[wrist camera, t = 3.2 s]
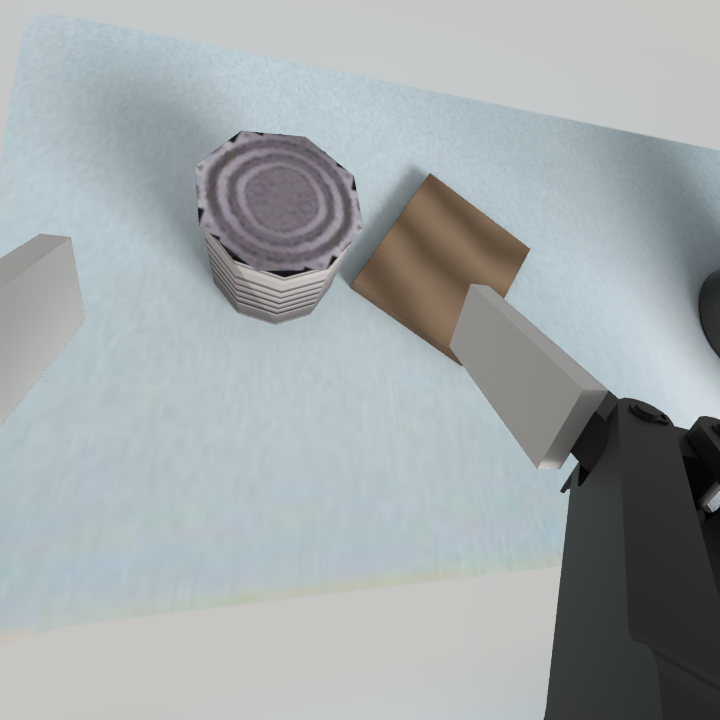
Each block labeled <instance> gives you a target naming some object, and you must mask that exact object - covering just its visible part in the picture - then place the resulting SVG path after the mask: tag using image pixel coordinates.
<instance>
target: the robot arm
mask: <svg viewBox="0 0 720 720" xmlns="http://www.w3.org/2000/svg"><path fill="white" fill-rule="evenodd" d="M700 315H701V320H702V324H703V327H704V330H705V333H706V335H707V337H708V339H709V341H710V343H711V345H712V346H713V348H714V349H715V351H716V352H717V354H718V355H719V356H720V270H718V271H716V272H714V273H712V274H711V275H710V276H709V277H708V278H707V280H706V281H705V283H704V285H703V287H702V290H701V295H700ZM85 321H86V318H85V312H84V307H83V301H82V296H81V290H80V285H79V279H78V274H77V268H76V263H75V257H74V252H73V246H72V241H71V237H64V236H56V235H47V234H39V235H38V236H36V237H34V238H33V239H31V240H30V241H28V242H26V243H25V244H23V245H21V246H20V247H18V248H17V249H15V250H13V251H12V252H10V253H9V254H7V255H5V256H4V257H2V258H0V428H1V427H2V425H3V424H4V423H5V422H6V420H7V419H8V418H9V417H10V415H11V414H12V413H13V412H14V410H15V409H16V408H17V407H18V405H19V404H20V403H21V402H22V400H23V399H24V398H25V397H26V395H27V394H28V393H29V392H30V390H31V389H32V388H33V387H34V385H35V384H36V383H37V382H38V380H39V379H40V378H41V377H42V375H43V374H44V373H45V372H46V370H47V369H48V368H49V367H50V365H51V364H52V363H53V362H54V360H55V359H56V358H57V356H58V355H59V354H60V353H61V351H62V350H63V349H64V348H65V346H66V345H67V344H68V343H69V341H70V340H71V339H72V338H73V336H74V335H75V334H76V333H77V331H78V330H79V329H80V328H81V326H82V325H83V324H84V323H85ZM449 347H450V348H451V350H452V351H453V353H454V354H455V355H456V357H457V358H458V359H459V361H460V362H461V364H462V365H463V366H464V368H465V369H466V371H467V372H468V373H469V375H470V376H471V378H472V379H473V380H474V382H475V383H476V385H477V386H478V387H479V389H480V390H481V392H482V393H483V394H484V396H485V397H486V399H487V400H488V401H489V403H490V404H491V406H492V407H493V408H494V410H495V411H496V412H497V414H498V415H499V417H500V418H501V419H502V421H503V422H504V424H505V425H506V426H507V428H508V429H509V431H510V432H511V433H512V435H513V436H514V438H515V439H516V440H517V442H518V443H519V445H520V446H521V447H522V449H523V450H524V452H525V453H526V454H527V456H528V457H529V458H530V460H531V461H532V463H533V464H534V465H535V467H536V468H537V469H560V468H561V467H562V465H563V464H564V462H565V460H566V459H567V457H568V456H569V454H570V452H571V453H572V454H573V455H574V457H575V458H576V459H577V460H578V461H579V462H578V464H577V465H576V467H575V468H574V470H573V472H572V473H571V475H570V476H569V478H568V479H567V481H566V482H565V484H564V485H563V487H562V489H561V491H560V492H562V493H565V491H566V490H567V489H570V497H569V506H568V515H567V524H566V533H565V542H564V551H563V560H562V570H561V578H560V587H559V596H558V605H557V614H556V624H555V633H554V641H553V650H552V659H551V668H550V678H549V686H548V695H547V704H546V711H545V717H544V720H720V507H719V508H718V509H717V510H716V511H714V512H712V511H711V510H710V508H709V507H708V505H707V504H708V503H709V502H710V500H711V499H712V498H713V497H714V496H715V495H716V494H717V493H718V492H719V491H720V420H719V419H717V418H713V417H708V416H702V417H699V418H698V420H697V421H696V422H695V423H694V425H693V426H692V427H691V428H690V430H687V429H683V428H679V427H675V426H674V425H673V423H672V421H671V420H670V419H669V418H668V416H667V415H665V414H664V413H663V412H661V411H660V410H658V409H656V408H655V407H653V406H651V405H650V404H647V403H645V402H642V401H639V400H636V399H631V398H622V399H618V398H617V397H616V396H615V395H613V394H612V393H611V392H610V391H609V390H608V389H607V388H606V387H604V386H603V385H602V384H601V383H600V382H599V381H598V380H596V379H595V378H594V377H593V376H592V375H591V374H590V373H588V372H587V371H586V370H585V369H584V368H583V367H582V366H580V365H579V364H578V363H577V362H576V361H575V360H573V359H572V358H571V357H570V356H569V355H568V354H567V353H565V352H564V351H563V350H562V349H561V348H560V347H559V346H557V345H556V344H555V343H554V342H553V341H552V340H550V339H549V338H548V337H547V336H546V335H545V334H544V333H542V332H541V331H540V330H539V329H538V328H537V327H536V326H534V325H533V324H532V323H531V322H530V321H529V320H528V319H526V318H525V317H524V316H523V315H522V314H521V313H519V312H518V311H517V310H516V309H515V308H514V307H513V306H511V305H510V304H509V303H508V302H507V301H506V300H505V299H503V298H502V297H501V296H500V295H499V294H498V293H496V292H495V291H494V290H493V289H492V288H491V287H490V286H487V285H478V284H471V285H470V287H469V290H468V293H467V296H466V299H465V302H464V305H463V308H462V311H461V313H460V316H459V319H458V322H457V325H456V328H455V331H454V334H453V337H452V339H451V342H450V345H449Z"/></svg>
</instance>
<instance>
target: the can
mask: <svg viewBox="0 0 720 720" xmlns="http://www.w3.org/2000/svg"><path fill="white" fill-rule="evenodd" d="M195 173H196V187H197V201H198V215H199V226H200V227H202V228H203V231H204V235H205V240H206V245H207V249H208V254H209V258H210V263H211V268H212V272H213V277H214V282H215V284H216V285H217V287H218V288H219V289H220V290H221V292H222V293H223V294H224V296H225V297H226V298H227V299H228V301H229V302H230V303H231V304H232V306H233V307H234V308H235V310H236V311H237V312H238V313H240V314H243V315H246V316H249V317H252V318H256V319H259V320H262V321H265V322H268V323H271V324H275V325H276V324H279V323H283V322H286V321H289V320H293V319H296V318H299V317H303V316H306V315H310V314H311V312H312V311H313V310H314V308H315V307H316V305H317V304H318V303H319V301H320V300H321V299H322V297H323V296H324V294H325V293H326V292H327V290H328V289H329V288H330V286H331V284H332V281H333V279H334V277H335V275H336V273H337V271H338V269H339V267H340V265H341V263H342V261H343V259H344V257H345V255H346V253H347V251H348V249H349V246H350V244H351V243H352V242H353V240H354V239H355V238H356V237H357V236H358V235H359V234H360V233H361V232H362V231H363V230H364V228H363V223H362V217H361V212H360V207H359V202H358V196H357V191H356V186H355V180H354V176H353V175H352V174H351V173H349V172H348V171H347V170H346V169H344V168H343V167H342V166H341V165H339V164H338V163H337V162H336V161H335V160H333V159H332V158H331V157H330V156H328V155H327V154H326V153H325V152H323V151H322V150H321V149H320V148H318V147H317V146H316V145H315V144H314V143H312V142H311V141H310V140H309V139H307V138H306V137H302V136H291V135H282V134H269V133H258V132H248V131H241V132H239V133H238V134H237V135H235V136H234V137H233V138H231V139H230V140H229V141H227V142H226V143H225V144H223V145H222V146H221V147H219V148H218V149H217V150H215V151H214V152H213V153H211V154H210V155H209V156H207V157H206V158H205V159H203V160H202V161H201V162H199V163H198V164H197V165H195Z"/></svg>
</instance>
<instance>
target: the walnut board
mask: <svg viewBox="0 0 720 720" xmlns="http://www.w3.org/2000/svg"><path fill="white" fill-rule="evenodd" d="M529 251H530V248H528V247H527V246H526V245H524V244H523V243H522V242H520V241H519V240H518V239H517V238H515V237H514V236H513V235H511V234H510V233H509V232H507V231H506V230H505V229H503V228H502V227H501V226H499V225H498V224H497V223H495V222H494V221H493V220H491V219H490V218H489V217H487V216H486V215H485V214H483V213H482V212H481V211H479V210H478V209H477V208H476V207H474V206H473V205H472V204H470V203H469V202H468V201H466V200H465V199H464V198H462V197H461V196H460V195H458V194H457V193H456V192H454V191H453V190H452V189H450V188H449V187H448V186H446V185H445V184H444V183H442V182H441V181H440V180H438V179H437V178H436V177H434V176H433V175H432V174H431V173H430V174H429V175H428V177H427V178H426V179H425V181H424V182H423V184H422V185H421V187H420V188H419V189H418V191H417V192H416V194H415V195H414V197H413V198H412V199H411V201H410V202H409V204H408V205H407V206H406V208H405V209H404V211H403V212H402V214H401V215H400V216H399V218H398V219H397V221H396V222H395V224H394V225H393V226H392V228H391V229H390V231H389V232H388V234H387V235H386V236H385V238H384V239H383V241H382V242H381V244H380V245H379V246H378V248H377V249H376V251H375V252H374V253H373V255H372V256H371V258H370V259H369V261H368V262H367V263H366V265H365V266H364V268H363V269H362V271H361V272H360V273H359V275H358V276H357V278H356V279H355V281H354V282H353V284H352V285H351V287H350V288H352V289H353V290H354V291H356V292H357V293H359V294H360V295H362V296H363V297H364V298H366V299H367V300H369V301H370V302H371V303H373V304H374V305H376V306H377V307H379V308H380V309H381V310H383V311H384V312H386V313H387V314H388V315H390V316H391V317H393V318H394V319H396V320H397V321H398V322H400V323H401V324H403V325H404V326H405V327H407V328H408V329H410V330H411V331H413V332H414V333H415V334H417V335H418V336H420V337H421V338H422V339H424V340H425V341H427V342H428V343H430V344H431V345H432V346H434V347H435V348H437V349H438V350H439V351H441V352H442V353H444V354H445V355H446V356H448V357H449V358H451V359H452V360H454V361H455V362H456V363H458V364H459V365H461V366H463V365H462V364H461V362H460V361H459V359H458V358H457V357H456V355H455V354H454V353H453V351H452V350H451V348H450V347H449V345H450V342H451V339H452V337H453V334H454V331H455V328H456V325H457V322H458V319H459V316H460V313H461V311H462V308H463V305H464V302H465V299H466V296H467V293H468V290H469V287H470V285H471V284H478V285H487V286H490V287H491V288H492V289H493V290H494V291H495V292H496V293H498V294H499V295H500V296H501V297H502V298H503V299H504V297H505V296H506V294H507V292H508V290H509V288H510V286H511V284H512V282H513V281H514V279H515V277H516V275H517V273H518V271H519V269H520V268H521V266H522V264H523V262H524V260H525V258H526V256H527V254H528V253H529Z"/></svg>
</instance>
